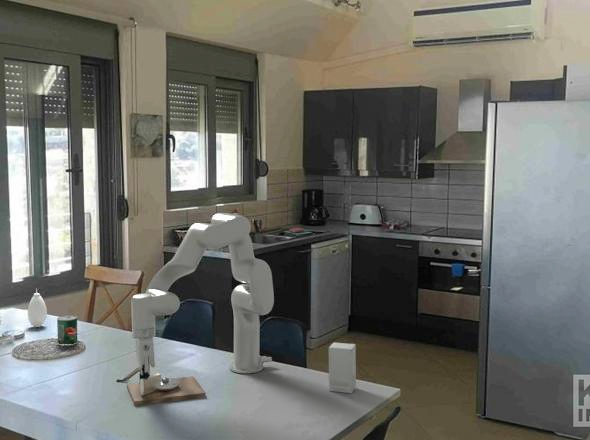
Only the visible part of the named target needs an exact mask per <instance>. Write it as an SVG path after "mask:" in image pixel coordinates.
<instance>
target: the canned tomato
mask: <svg viewBox="0 0 590 440" xmlns="http://www.w3.org/2000/svg"><path fill="white" fill-rule="evenodd" d="M56 320H57V323H56V324H57V325H56V327H57V344H58V343H59V344H74V343H77V342H78V316H76V315H73V314H72V315H69V314H68V315H67V314H66V315H61V316H58V317H57V318H56ZM78 343H79V342H78ZM78 343H77V344H78Z"/></svg>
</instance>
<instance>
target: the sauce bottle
mask: <svg viewBox="0 0 590 440" xmlns="http://www.w3.org/2000/svg"><path fill="white" fill-rule="evenodd" d="M27 307H28V309H27V318H28V319H27V320H28V322H29V323H30V325H31V326H33V327H34V328H36V327H39V328H40V327H42V326H43V325H44V324H45V322H46V320H47V315H48V313H47V312H48V310H47V306H46V302H45V301H44V298H43V297H42V296H41V293H38V287H36V288H35V293H33V295H32V297H31V300H30V302H29V304H28V306H27Z"/></svg>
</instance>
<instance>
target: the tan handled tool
mask: <svg viewBox="0 0 590 440" xmlns="http://www.w3.org/2000/svg"><path fill="white" fill-rule="evenodd" d="M138 372H140V367H139V366H138V367H137V368H135V369H134V370H133V371H131V372H130V373H128V374H127V375H126V376H125V377H123V379H119V378H118V379H116V380H115V381H116V383H122V384H123V383H124V384H129V381H130V378H131V377H132V376H134V375H135V374H137V373H138Z"/></svg>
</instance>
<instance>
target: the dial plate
mask: <svg viewBox="0 0 590 440" xmlns="http://www.w3.org/2000/svg"><path fill="white" fill-rule="evenodd" d="M175 379H177V380H178V381H179V387H178V388H176V389H174V390H170V391H154V392H151V393H148V394H146V395H142V394H140V381H139V382H131V383H126V388H127V389H126V390H127V392H128V394H129V396H130V399H131V401H132V404H133V405H134V407H137V406H145V405H152V404H159V403H161V404H162V403H169V402H177V401H184V400H185V401H186V400H193V399H200V398H206V391H205V390H204V388H203V387H202V386H201V385H200V383H199V382H198V380H197V379H196V377H194V375H191V376H184V377H176V378H175Z"/></svg>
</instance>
